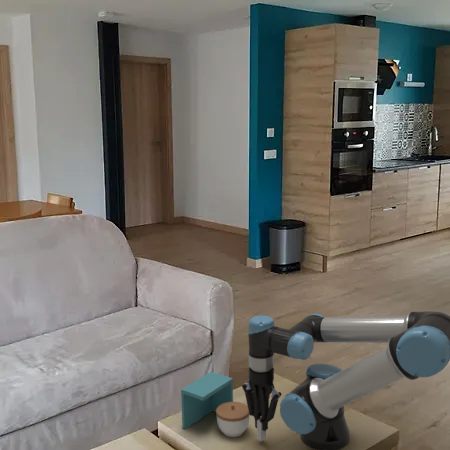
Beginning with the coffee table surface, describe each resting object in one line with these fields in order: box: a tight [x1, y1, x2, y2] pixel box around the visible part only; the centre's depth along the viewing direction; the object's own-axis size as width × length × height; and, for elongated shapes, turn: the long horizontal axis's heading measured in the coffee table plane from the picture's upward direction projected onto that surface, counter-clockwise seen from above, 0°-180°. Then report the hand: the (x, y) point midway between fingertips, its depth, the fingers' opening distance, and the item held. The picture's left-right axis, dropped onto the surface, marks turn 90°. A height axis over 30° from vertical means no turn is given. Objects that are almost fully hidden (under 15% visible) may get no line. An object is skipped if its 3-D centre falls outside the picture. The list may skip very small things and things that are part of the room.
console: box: [180, 371, 234, 430], centre depth 194 cm, size 9×16×14 cm, turn 144°
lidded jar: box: [215, 401, 250, 438], centre depth 189 cm, size 11×11×9 cm
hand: (261, 438), depth 183 cm, fingers closed
